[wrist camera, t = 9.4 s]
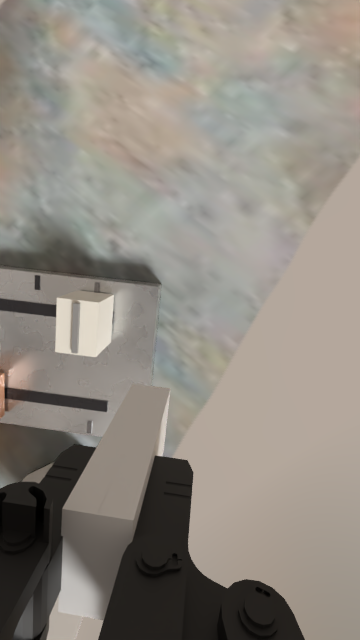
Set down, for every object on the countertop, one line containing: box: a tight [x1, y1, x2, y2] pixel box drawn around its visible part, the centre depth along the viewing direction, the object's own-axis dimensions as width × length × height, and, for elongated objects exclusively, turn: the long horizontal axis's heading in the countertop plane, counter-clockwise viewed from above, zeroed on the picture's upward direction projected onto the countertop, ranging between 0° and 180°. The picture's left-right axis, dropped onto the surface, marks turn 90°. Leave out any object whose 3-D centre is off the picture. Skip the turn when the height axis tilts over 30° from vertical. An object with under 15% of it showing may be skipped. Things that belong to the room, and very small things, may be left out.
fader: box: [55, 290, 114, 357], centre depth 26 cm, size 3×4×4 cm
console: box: [0, 266, 162, 437], centre depth 31 cm, size 22×14×2 cm, turn 84°
